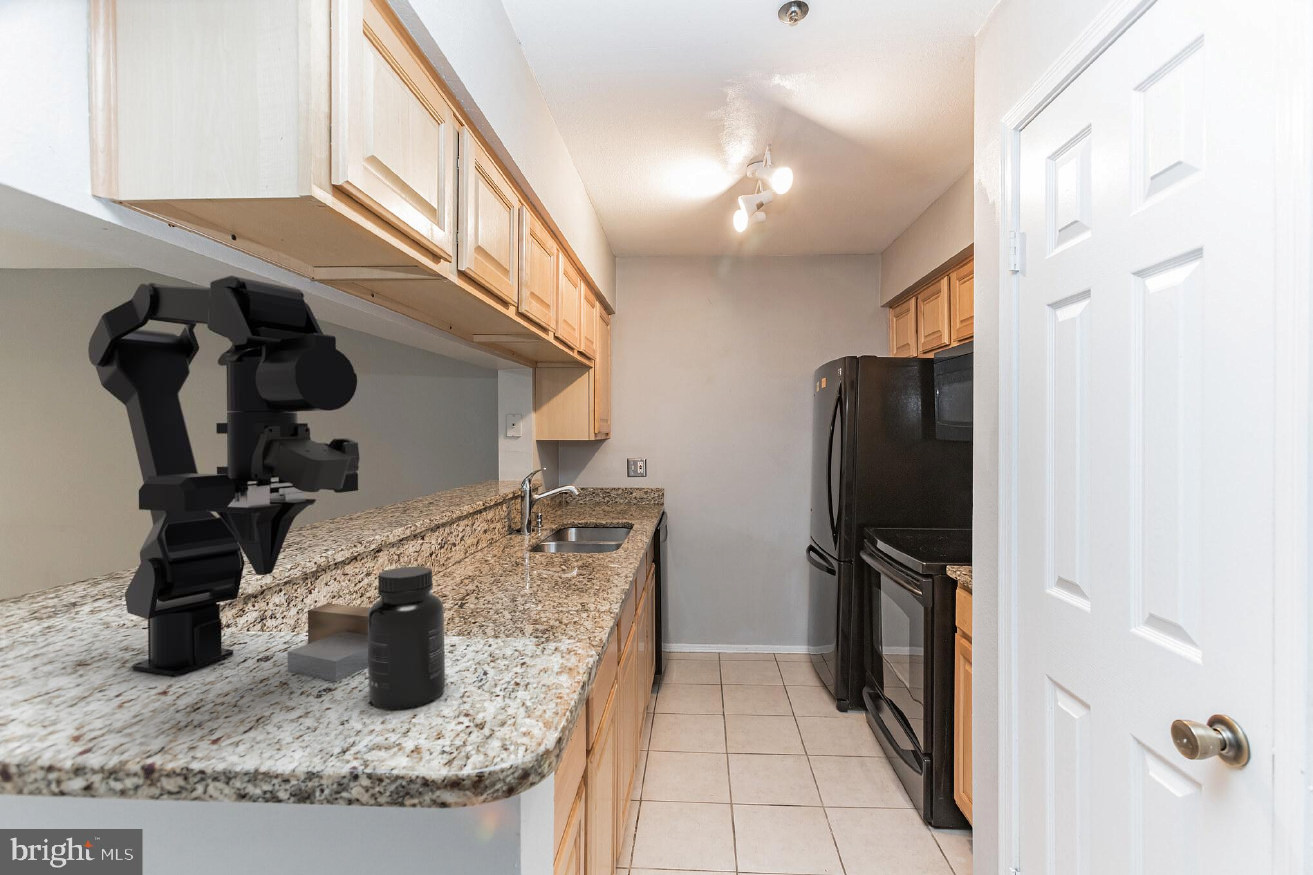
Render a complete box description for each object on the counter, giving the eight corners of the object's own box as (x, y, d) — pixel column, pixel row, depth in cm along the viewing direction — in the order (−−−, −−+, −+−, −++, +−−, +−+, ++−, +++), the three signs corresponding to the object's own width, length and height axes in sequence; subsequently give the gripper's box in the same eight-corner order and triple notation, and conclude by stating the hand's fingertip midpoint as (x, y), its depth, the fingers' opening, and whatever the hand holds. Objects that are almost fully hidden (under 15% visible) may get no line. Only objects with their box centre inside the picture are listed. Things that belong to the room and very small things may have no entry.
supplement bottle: (421, 674, 63) (421, 560, 63) (458, 693, 59) (458, 570, 59) (354, 697, 58) (354, 572, 58) (389, 719, 54) (389, 584, 53)
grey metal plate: (287, 674, 64) (287, 651, 64) (343, 652, 71) (343, 630, 70) (336, 685, 61) (335, 661, 61) (389, 661, 68) (389, 639, 68)
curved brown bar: (307, 643, 72) (307, 610, 72) (327, 635, 75) (327, 603, 75) (407, 655, 68) (407, 620, 68) (424, 646, 71) (424, 612, 71)
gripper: (237, 408, 47) (238, 608, 47) (399, 414, 65) (400, 559, 65) (132, 409, 50) (134, 597, 50) (315, 415, 68) (316, 553, 68)
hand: (264, 574), depth 58 cm, fingers closed
